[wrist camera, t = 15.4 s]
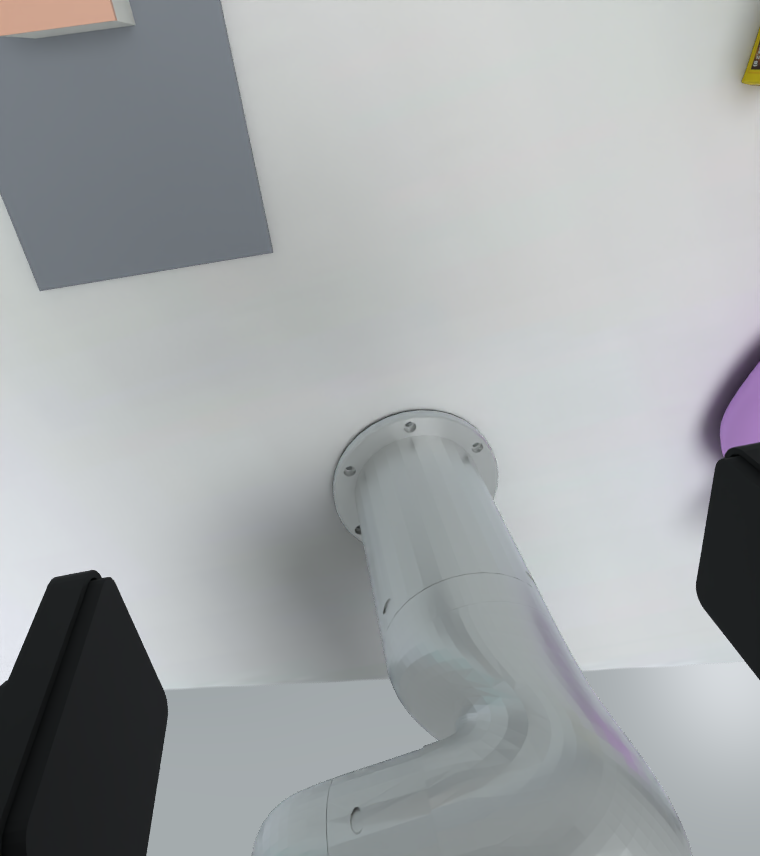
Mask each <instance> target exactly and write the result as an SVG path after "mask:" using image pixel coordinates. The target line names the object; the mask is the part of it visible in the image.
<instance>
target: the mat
mask: <svg viewBox="0 0 760 856" xmlns="http://www.w3.org/2000/svg"><path fill="white" fill-rule="evenodd" d="M129 3H130V6H131V10H132V14H133V18H134V21H135V25H132V26H125V27H117V28H110V29H103V30H95V31H88V32H80V33H73V34H66V35H58V36H51V37H44V38H36V39H34V38H21V37H7V36H0V194H1V196H2V199H3V201H4V204H5V206H6V209H7V211H8V214H9V216H10V218H11V221H12V223H13V226H14V228H15V231H16V233H17V236H18V238H19V241H20V243H21V246H22V248H23V251H24V253H25V256H26V258H27V260H28V263H29V265H30V268H31V270H32V273H33V275H34V278H35V280H36V283H37V285H38V288H39V290H40V291H43V290H49V289H55V288H61V287H67V286H73V285H79V284H86V283H92V282H98V281H104V280H110V279H116V278H122V277H128V276H134V275H140V274H146V273H152V272H158V271H164V270H170V269H177V268H183V267H189V266H195V265H201V264H207V263H213V262H219V261H225V260H231V259H237V258H243V257H249V256H255V255H262V254H268V253H273V250H272V245H271V240H270V235H269V230H268V226H267V221H266V216H265V211H264V207H263V202H262V197H261V192H260V188H259V183H258V178H257V173H256V168H255V164H254V159H253V154H252V149H251V145H250V140H249V135H248V130H247V126H246V121H245V116H244V111H243V107H242V102H241V97H240V92H239V87H238V83H237V78H236V73H235V68H234V64H233V59H232V54H231V49H230V45H229V40H228V35H227V30H226V26H225V21H224V16H223V11H222V6H221V2H220V0H129Z"/></svg>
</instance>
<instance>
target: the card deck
mask: <svg viewBox="0 0 760 856" xmlns="http://www.w3.org/2000/svg"><path fill="white" fill-rule="evenodd" d="M132 25H135V21H134V18H133V14H132V10H131V6H130V3H129V0H0V36H7V37H21V38H34V39H36V38H44V37H51V36H58V35H66V34H73V33H80V32H88V31H95V30H103V29H110V28H117V27H125V26H132Z"/></svg>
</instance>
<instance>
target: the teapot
mask: <svg viewBox="0 0 760 856" xmlns="http://www.w3.org/2000/svg"><path fill="white" fill-rule="evenodd" d="M720 441H721V448H722V453H723V456H724V455H725V453H726V452H727V450H728V449H730V448H732V447H737V446H742V445H747V444H753V443H758V442H760V362H759V363H758V364H757V365H756V367H755V368H754V369H753V370H752V372H751V373H750V374H749V376H748V377H747V378H746V380H745V381H744V382H743V384H742V385H741V387H740V388H739V390H738V391H737V393H736V394H735V396H734V397H733V399H732V400H731V402H730V404H729V406H728V407H727V409H726V411H725V413H724V416H723V418H722V421H721V426H720Z"/></svg>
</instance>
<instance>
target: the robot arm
mask: <svg viewBox="0 0 760 856" xmlns="http://www.w3.org/2000/svg"><path fill="white" fill-rule="evenodd" d="M408 422H410V423H409V424H406V423H408ZM349 466H350V467H349ZM497 485H498V469H497V462H496V459H495V457H494V454H493V452H492V449H491V447H490V446H489V444H488V442H487V441H486V439H485V438H484V437H483V435H482V434H481V433H480V432H479V431H478V430H477V429H476V428H475V427H474V426H472V425H471V424H469V423H468V422H466V421H465V420H463V419H461V418H458V417H456V416H454V415H451V414H448V413H443V412H438V411H426V410H417V411H410V412H403V413H400V414H396V415H393V416H390V417H387V418H385V419H383V420H381V421H379V422H377V423H375V424H373V425H371V426H370V427H369V428H367V429H366V430H365V431H363V432H362V433H360V434H359V435H358V436H357V437H356V438H355V439H354V440H353V441H352V442H351V444H350V445H349V446H348V447H347V449H346V450H345V452H344V453H343V455H342V456H341V458H340V460H339V463H338V465H337V468H336V471H335V475H334V482H333V492H334V501H335V506H336V511H337V513H338V515H339V517H340V519H341V522H342V523H343V525H344V526H345V527H346V528H347V530H348V531H349V532H350V533H351V534H352V535H353V536H354V537H356V538H357V539H358V540H359V541H361V542H363V544H364V549H365V555H366V560H367V565H368V571H369V576H370V581H371V586H372V592H373V597H374V602H375V607H376V613H377V618H378V623H379V628H380V634H381V639H382V644H383V650H384V654H385V659H386V664H387V669H388V674H389V677H390V680H391V683H392V685H393V688H394V690H395V692H396V694H397V696H398V698H399V700H400V701H401V703H402V704H403V706H404V707H405V709H406V710H407V711H408V713H409V714H410V715H411V716H412V717H413V718H414V719H415V720H416V721H417V722H418V723H419V724H420V725H421V726H422V727H423V728H424V729H425V730H426V731H427V732H429V733H430V734H431V735H432V736H433V737H435V738H436V739H437V740H438V741H436V742H434V743H432V744H428V745H425V746H424V747H423V748H422V749H419V750H416V751H413V752H410V753H407V754H404V755H401V756H398V757H395V758H392V759H389V760H386V761H383V762H380V763H377V764H374V765H371V766H368V767H365V768H362V769H359V770H356V771H353V772H350V773H347V774H344V775H341V776H338V777H335V778H333V779H330V780H327V781H324V782H321V783H318V784H316V785H313V786H311V787H309V788H306V789H304V790H301V791H299V792H297V793H295V794H293V795H292V796H290V797H288V798H287V799H285V800H284V801H282V802H281V803H280V804H279V805H278V806H277V807H275V808H274V809H273V810H272V811H271V813H270V814H269V815H268V817H267V818H266V819H265V821H264V822H263V824H262V826H261V828H260V830H259V832H258V835H257V837H256V840H255V843H254V847H253V852H252V856H692V852H691V848H690V844H689V841H688V839H687V836H686V833H685V830H684V828H683V826H682V823H681V821H680V819H679V817H678V815H677V813H676V811H675V809H674V807H673V805H672V803H671V801H670V799H669V797H668V796H667V794H666V792H665V791H664V789H663V787H662V786H661V784H660V782H659V781H658V779H657V778H656V776H655V775H654V773H653V772H652V770H651V769H650V767H649V766H648V764H647V763H646V762H645V760H644V759H643V757H642V756H641V755H640V753H639V752H638V751H637V750H636V748H635V747H634V745H633V744H632V743H631V741H630V740H629V739H628V737H627V736H626V735H625V733H624V732H623V731H622V729H621V728H620V727H619V725H618V724H617V723H616V721H615V720H614V718H613V717H612V716H611V714H610V713H609V711H608V710H607V709H606V707H605V706H604V705H603V703H602V702H601V701H600V699H599V698H598V696H597V695H596V693H595V692H594V690H593V689H592V687H591V686H590V684H589V682H588V681H587V680H586V678H585V676H584V674H583V673H582V671H581V669H580V667H579V666H578V664H577V662H576V661H575V659H574V657H573V656H572V654H571V652H570V650H569V648H568V646H567V644H566V643H565V641H564V639H563V637H562V635H561V633H560V631H559V630H558V628H557V626H556V624H555V622H554V620H553V618H552V616H551V614H550V612H549V610H548V608H547V606H546V604H545V602H544V600H543V598H542V596H541V594H540V592H539V590H538V588H537V586H536V584H535V582H534V580H533V578H532V576H531V574H530V572H529V570H528V568H527V566H526V564H525V562H524V560H523V558H522V556H521V554H520V552H519V550H518V548H517V546H516V544H515V542H514V540H513V538H512V536H511V534H510V532H509V530H508V528H507V526H506V524H505V522H504V520H503V518H502V516H501V514H500V512H499V510H498V508H497V506H496V504H495V502H494V496H495V493H496V489H497ZM696 591H697V596H698V599H699V601H700V603H701V605H702V607H703V608H704V609H705V611H706V612H707V613H708V615H709V616H710V617H711V618H712V620H713V621H714V622H715V624H716V625H717V626H718V627H719V629H720V630H721V631H722V632H723V634H724V635H725V636H726V638H727V639H728V640H729V641H730V643H731V644H732V645H733V646H734V648H735V649H736V650H737V652H738V653H739V654H740V655H741V657H742V658H743V659H744V661H745V662H746V663H747V664H748V666H749V667H750V668H751V669H752V671H753V672H754V673H755V675H756V676H757V677H758V678H759V680H760V442H758V443H753V444H747V445H742V446H737V447H732V448H730V449H728V450H727V452H726V453H725V455H724V459H721V460H719V461H718V462H717V464H716V467H715V472H714V478H713V484H712V490H711V496H710V502H709V508H708V514H707V520H706V527H705V533H704V539H703V545H702V551H701V557H700V563H699V569H698V575H697V581H696ZM167 717H168V706H167V699H166V695H165V692H164V690H163V688H162V686H161V683H160V681H159V679H158V677H157V674H156V672H155V670H154V668H153V666H152V663H151V661H150V659H149V657H148V654H147V652H146V650H145V648H144V646H143V643H142V641H141V639H140V637H139V635H138V632H137V630H136V628H135V626H134V623H133V621H132V619H131V617H130V615H129V612H128V610H127V608H126V606H125V603H124V601H123V599H122V597H121V595H120V592H119V590H118V588H117V586H116V584H115V582H114V580H113V579H112V578H111V577H106V578H102V577H101V575H100V574H99V573H98V572H97V571H95V570H90V571H85V572H80V573H74V574H69V575H64V576H59V577H55V578H53V579H52V580H51V581H50V583H49V584H48V586H47V589H46V591H45V594H44V596H43V598H42V601H41V603H40V605H39V608H38V610H37V613H36V615H35V617H34V620H33V622H32V624H31V627H30V629H29V632H28V634H27V636H26V639H25V641H24V644H23V646H22V648H21V651H20V653H19V655H18V658H17V660H16V663H15V665H14V667H13V670H12V672H11V674H10V677H9V679H8V680H7V681H5V682H4V683H3V684H2V685H1V686H0V856H146V853H147V847H148V840H149V834H150V827H151V821H152V814H153V808H154V801H155V795H156V788H157V783H158V776H159V770H160V763H161V757H162V751H163V744H164V737H165V731H166V725H167Z"/></svg>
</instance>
